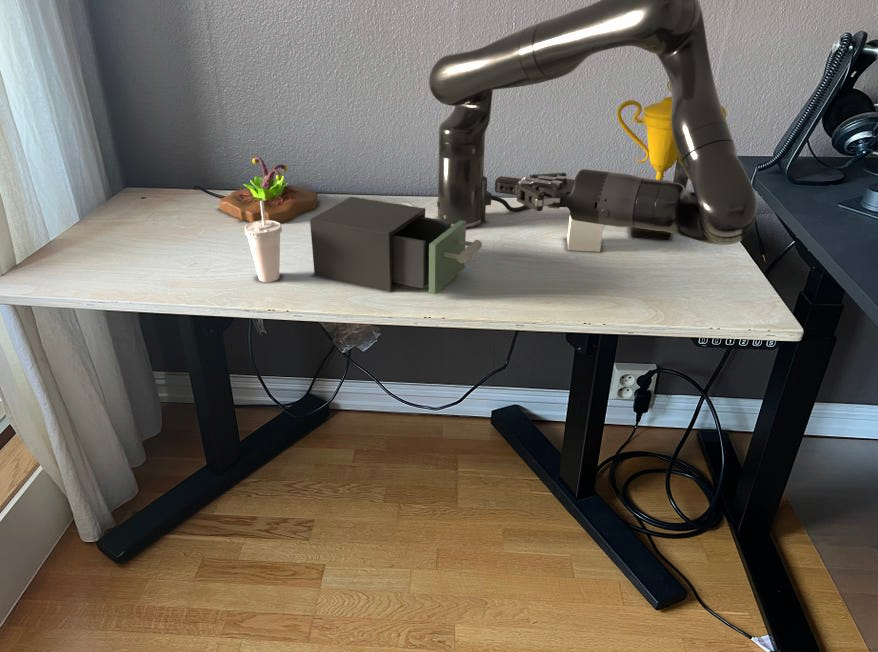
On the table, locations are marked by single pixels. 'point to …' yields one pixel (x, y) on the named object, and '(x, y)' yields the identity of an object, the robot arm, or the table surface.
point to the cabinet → (359, 240)
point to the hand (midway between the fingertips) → (496, 184)
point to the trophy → (655, 146)
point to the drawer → (430, 253)
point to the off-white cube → (584, 236)
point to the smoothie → (265, 246)
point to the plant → (269, 198)
